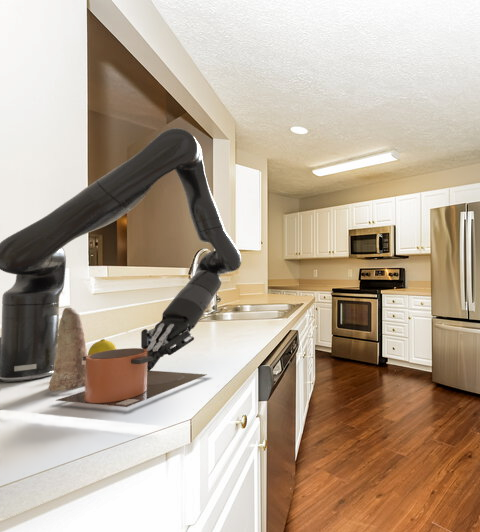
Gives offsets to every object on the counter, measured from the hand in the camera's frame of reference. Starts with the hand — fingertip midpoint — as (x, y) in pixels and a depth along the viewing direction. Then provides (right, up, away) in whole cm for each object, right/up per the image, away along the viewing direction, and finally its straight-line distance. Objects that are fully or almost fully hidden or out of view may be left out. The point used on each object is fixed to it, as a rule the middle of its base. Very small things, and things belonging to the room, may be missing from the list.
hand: (142, 369), depth 73 cm
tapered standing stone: (-15, -4, -1) cm, 15 cm away
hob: (0, -4, -1) cm, 4 cm away
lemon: (-20, -5, +13) cm, 24 cm away
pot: (-1, -3, -6) cm, 7 cm away
